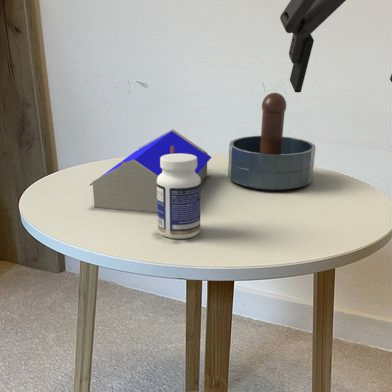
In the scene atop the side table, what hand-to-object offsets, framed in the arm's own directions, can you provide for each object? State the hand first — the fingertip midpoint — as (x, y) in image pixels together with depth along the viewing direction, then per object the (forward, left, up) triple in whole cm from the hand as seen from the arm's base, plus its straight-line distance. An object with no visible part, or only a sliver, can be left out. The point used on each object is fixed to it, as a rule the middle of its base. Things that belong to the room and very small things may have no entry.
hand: (346, 85), depth 76 cm
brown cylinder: (+2, -23, -17) cm, 29 cm away
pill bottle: (+22, +2, -18) cm, 28 cm away
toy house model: (+23, -18, -18) cm, 34 cm away
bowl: (+3, -21, -18) cm, 28 cm away
